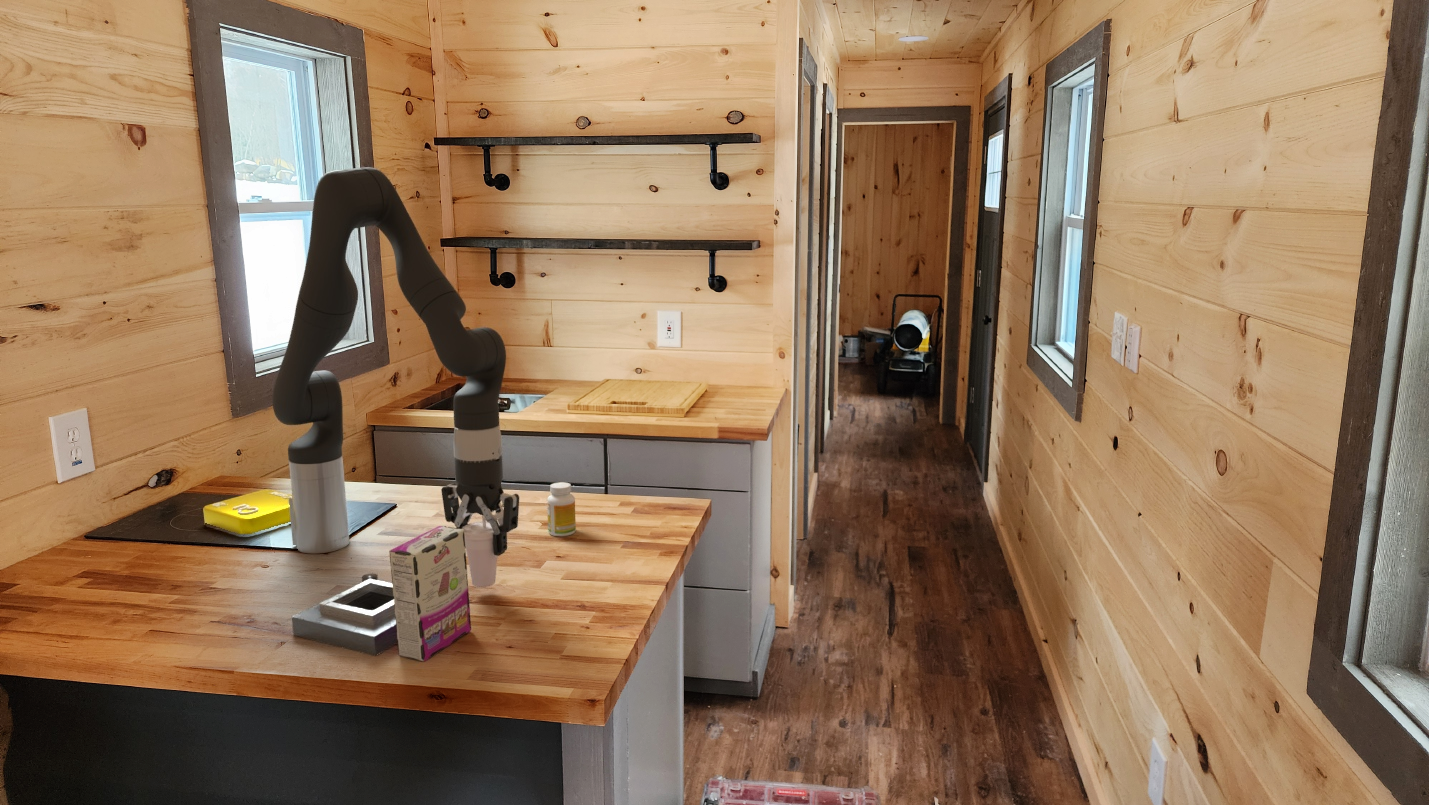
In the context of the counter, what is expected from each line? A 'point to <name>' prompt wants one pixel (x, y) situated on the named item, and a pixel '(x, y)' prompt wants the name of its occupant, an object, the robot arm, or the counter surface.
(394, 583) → the candy bar box
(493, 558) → the smoothie
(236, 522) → the element tile
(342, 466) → the robot arm
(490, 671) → the counter surface
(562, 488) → the supplement bottle
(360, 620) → the grey square holder
